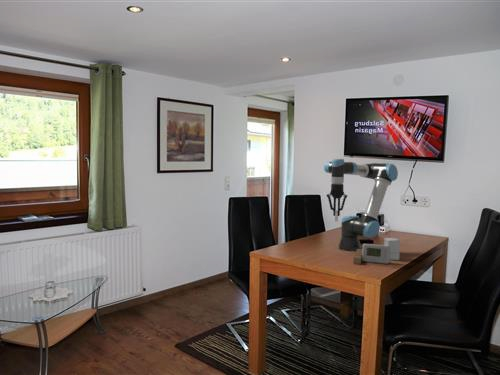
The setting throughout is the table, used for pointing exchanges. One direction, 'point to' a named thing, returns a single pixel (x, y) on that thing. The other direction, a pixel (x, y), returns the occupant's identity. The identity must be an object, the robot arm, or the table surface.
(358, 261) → the walnut batten
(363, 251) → the digital clock
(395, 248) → the supplement box
